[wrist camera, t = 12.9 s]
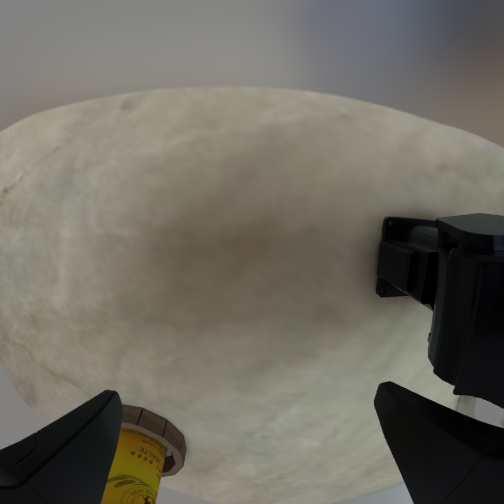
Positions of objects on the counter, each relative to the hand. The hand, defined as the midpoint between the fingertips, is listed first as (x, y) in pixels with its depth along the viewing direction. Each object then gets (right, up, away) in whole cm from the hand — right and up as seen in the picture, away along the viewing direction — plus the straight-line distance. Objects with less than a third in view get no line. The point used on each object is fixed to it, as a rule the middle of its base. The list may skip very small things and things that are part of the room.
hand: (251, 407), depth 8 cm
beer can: (-12, -15, +16) cm, 25 cm away
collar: (-12, -15, +16) cm, 25 cm away
